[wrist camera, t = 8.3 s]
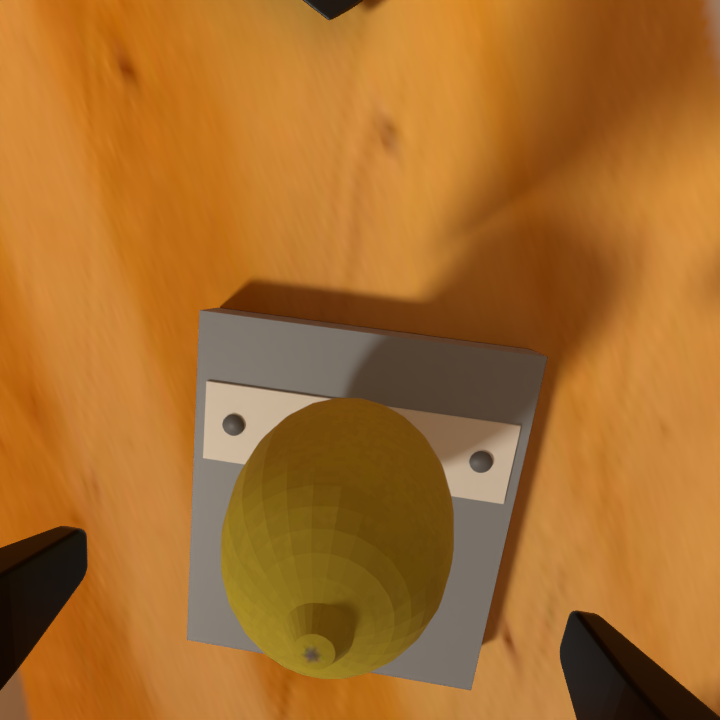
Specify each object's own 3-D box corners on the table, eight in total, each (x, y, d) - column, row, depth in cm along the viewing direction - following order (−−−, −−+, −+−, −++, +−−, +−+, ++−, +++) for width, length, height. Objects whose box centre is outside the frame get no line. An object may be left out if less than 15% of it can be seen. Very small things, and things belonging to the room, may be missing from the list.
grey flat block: (464, 655, 17) (471, 694, 15) (203, 610, 18) (184, 643, 16) (531, 349, 14) (549, 358, 13) (218, 307, 15) (197, 310, 13)
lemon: (300, 351, 13) (172, 450, 5) (454, 395, 13) (549, 559, 5) (266, 490, 14) (121, 735, 7) (408, 531, 14) (431, 830, 6)
